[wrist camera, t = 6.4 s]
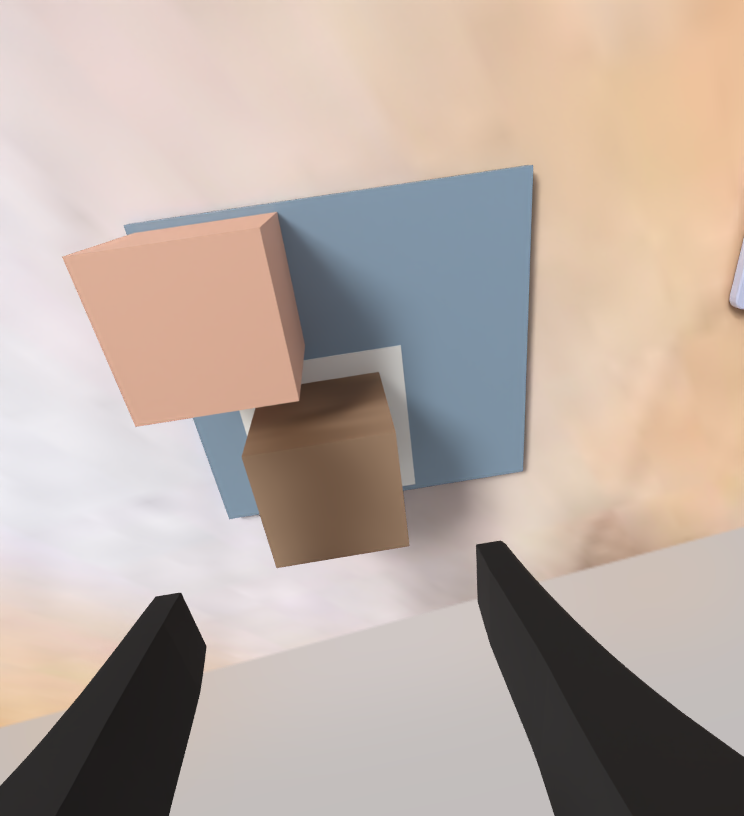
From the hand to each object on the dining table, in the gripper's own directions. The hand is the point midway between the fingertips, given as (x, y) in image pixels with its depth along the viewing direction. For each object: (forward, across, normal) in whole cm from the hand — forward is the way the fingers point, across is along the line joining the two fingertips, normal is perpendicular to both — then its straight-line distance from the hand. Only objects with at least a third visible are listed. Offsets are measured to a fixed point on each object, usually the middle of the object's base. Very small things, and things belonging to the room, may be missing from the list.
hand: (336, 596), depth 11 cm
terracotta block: (+8, +3, -6) cm, 10 cm away
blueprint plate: (+8, -1, -2) cm, 9 cm away
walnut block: (+8, 0, 0) cm, 8 cm away
